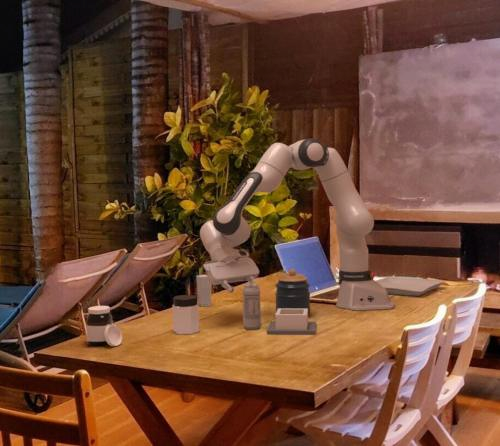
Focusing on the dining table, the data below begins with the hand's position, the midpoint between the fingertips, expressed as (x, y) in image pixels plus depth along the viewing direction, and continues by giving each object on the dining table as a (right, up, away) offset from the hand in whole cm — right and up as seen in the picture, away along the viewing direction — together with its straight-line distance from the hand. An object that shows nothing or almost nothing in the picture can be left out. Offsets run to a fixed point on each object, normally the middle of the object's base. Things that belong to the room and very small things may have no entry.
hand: (242, 290), depth 249 cm
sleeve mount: (+17, -13, -6) cm, 22 cm away
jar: (-19, -14, -6) cm, 24 cm away
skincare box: (-16, -10, +38) cm, 42 cm away
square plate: (+70, -6, +60) cm, 92 cm away
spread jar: (-44, -16, -20) cm, 51 cm away
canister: (+19, -11, +14) cm, 26 cm away
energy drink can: (+3, -13, -3) cm, 14 cm away
